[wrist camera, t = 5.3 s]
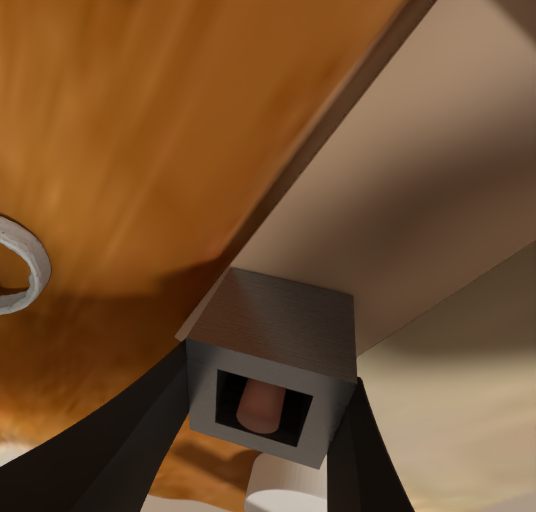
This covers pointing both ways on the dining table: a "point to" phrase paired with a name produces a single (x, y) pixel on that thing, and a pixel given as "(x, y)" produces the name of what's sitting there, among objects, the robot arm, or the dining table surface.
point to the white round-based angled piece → (286, 486)
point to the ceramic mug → (33, 255)
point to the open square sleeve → (273, 362)
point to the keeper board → (411, 181)
